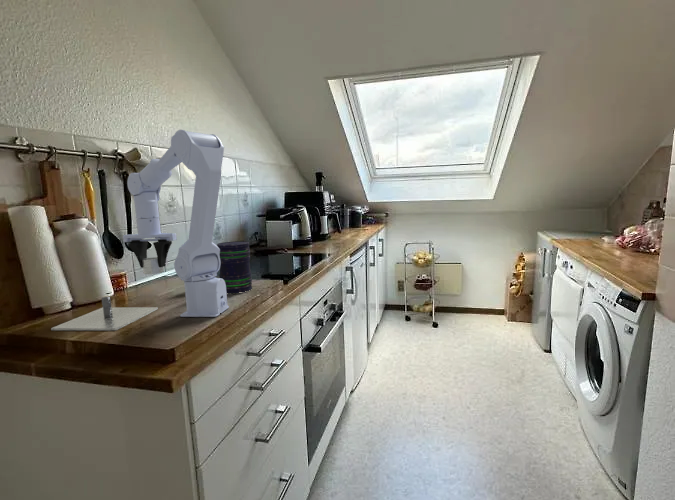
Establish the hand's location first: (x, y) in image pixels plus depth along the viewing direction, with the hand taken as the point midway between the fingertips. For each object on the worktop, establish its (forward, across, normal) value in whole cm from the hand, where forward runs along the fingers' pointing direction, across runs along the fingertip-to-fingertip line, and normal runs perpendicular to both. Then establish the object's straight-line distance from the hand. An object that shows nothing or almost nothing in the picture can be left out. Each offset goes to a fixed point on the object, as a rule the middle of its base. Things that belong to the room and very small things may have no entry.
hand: (153, 266), depth 104 cm
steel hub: (+2, 0, 0) cm, 2 cm away
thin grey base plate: (+10, +4, +14) cm, 18 cm away
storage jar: (+11, -18, -14) cm, 25 cm away
